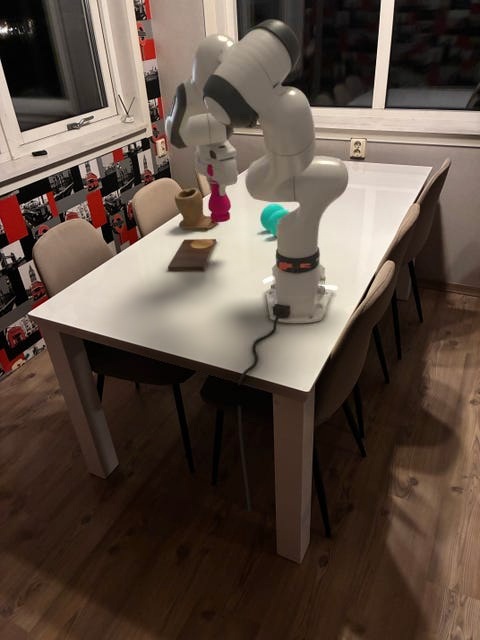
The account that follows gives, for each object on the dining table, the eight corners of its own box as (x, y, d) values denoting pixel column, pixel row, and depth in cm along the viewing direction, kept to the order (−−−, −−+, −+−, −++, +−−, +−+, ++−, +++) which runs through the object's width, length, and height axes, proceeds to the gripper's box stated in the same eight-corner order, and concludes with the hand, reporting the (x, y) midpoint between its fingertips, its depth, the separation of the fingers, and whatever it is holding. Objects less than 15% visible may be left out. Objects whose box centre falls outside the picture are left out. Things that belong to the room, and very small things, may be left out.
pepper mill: (206, 217, 160) (200, 154, 149) (226, 213, 162) (222, 151, 151) (214, 224, 154) (208, 160, 143) (235, 220, 156) (231, 156, 145)
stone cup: (173, 231, 190) (167, 194, 182) (186, 220, 199) (181, 184, 191) (209, 234, 185) (204, 195, 177) (221, 222, 194) (217, 185, 186)
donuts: (284, 225, 186) (283, 200, 180) (296, 234, 178) (295, 208, 172) (259, 231, 183) (258, 205, 178) (270, 240, 175) (269, 214, 170)
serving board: (203, 270, 160) (203, 265, 159) (168, 270, 162) (167, 266, 161) (216, 242, 178) (216, 238, 177) (184, 243, 180) (184, 238, 179)
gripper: (187, 144, 152) (193, 187, 159) (220, 155, 137) (225, 203, 144) (205, 140, 155) (210, 183, 162) (239, 151, 139) (243, 198, 147)
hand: (217, 193), depth 153 cm, fingers closed on pepper mill, 4 cm apart
